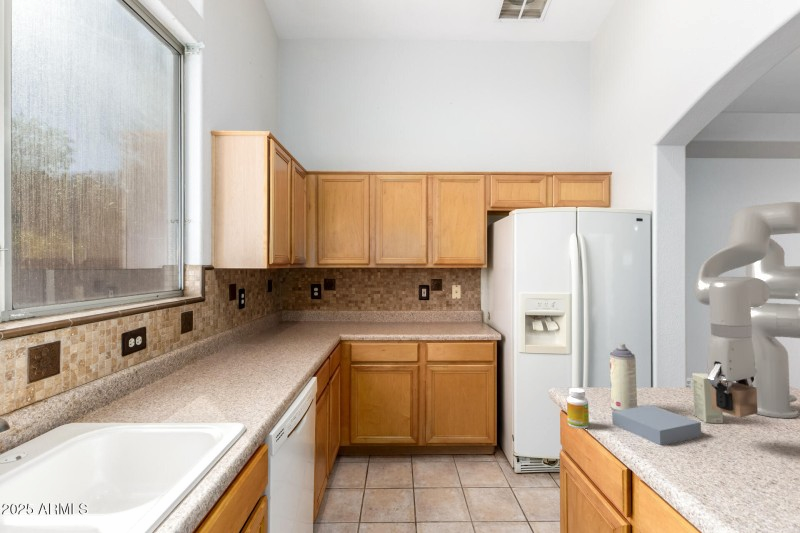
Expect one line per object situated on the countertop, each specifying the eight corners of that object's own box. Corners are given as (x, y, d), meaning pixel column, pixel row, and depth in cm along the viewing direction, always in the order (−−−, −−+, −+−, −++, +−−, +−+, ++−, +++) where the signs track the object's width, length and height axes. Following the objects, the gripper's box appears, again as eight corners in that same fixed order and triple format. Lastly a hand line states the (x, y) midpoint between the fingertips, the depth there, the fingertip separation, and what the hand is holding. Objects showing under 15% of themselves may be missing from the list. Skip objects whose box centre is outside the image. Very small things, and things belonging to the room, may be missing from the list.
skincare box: (723, 424, 106) (722, 378, 106) (705, 423, 107) (703, 378, 107) (710, 415, 113) (708, 372, 113) (693, 414, 114) (691, 372, 114)
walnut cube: (729, 404, 97) (728, 380, 97) (757, 413, 92) (756, 387, 92) (712, 408, 95) (711, 384, 95) (740, 417, 90) (739, 391, 90)
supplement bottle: (588, 430, 104) (587, 394, 105) (566, 427, 107) (565, 391, 107) (589, 423, 109) (588, 388, 109) (568, 420, 112) (567, 386, 112)
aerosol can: (618, 404, 123) (616, 341, 124) (641, 410, 118) (639, 344, 118) (606, 409, 120) (604, 343, 120) (630, 415, 114) (627, 347, 114)
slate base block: (650, 418, 112) (650, 404, 113) (701, 438, 99) (700, 422, 99) (612, 425, 108) (612, 411, 108) (660, 447, 95) (659, 430, 95)
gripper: (737, 325, 100) (740, 396, 100) (689, 332, 94) (692, 407, 94) (773, 329, 92) (776, 405, 93) (723, 337, 87) (726, 418, 87)
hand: (734, 405), depth 93 cm, fingers closed on walnut cube, 6 cm apart
